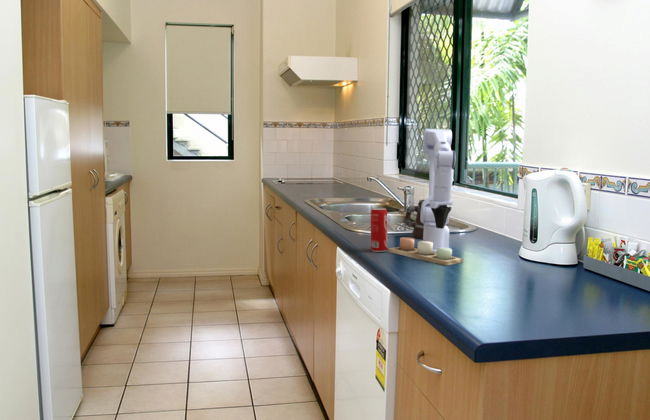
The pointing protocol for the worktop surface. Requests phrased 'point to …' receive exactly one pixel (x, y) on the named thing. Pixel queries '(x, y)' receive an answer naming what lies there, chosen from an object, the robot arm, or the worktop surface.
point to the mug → (418, 224)
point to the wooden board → (425, 256)
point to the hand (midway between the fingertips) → (439, 228)
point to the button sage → (444, 253)
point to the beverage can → (378, 229)
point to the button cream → (425, 247)
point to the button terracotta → (407, 243)
